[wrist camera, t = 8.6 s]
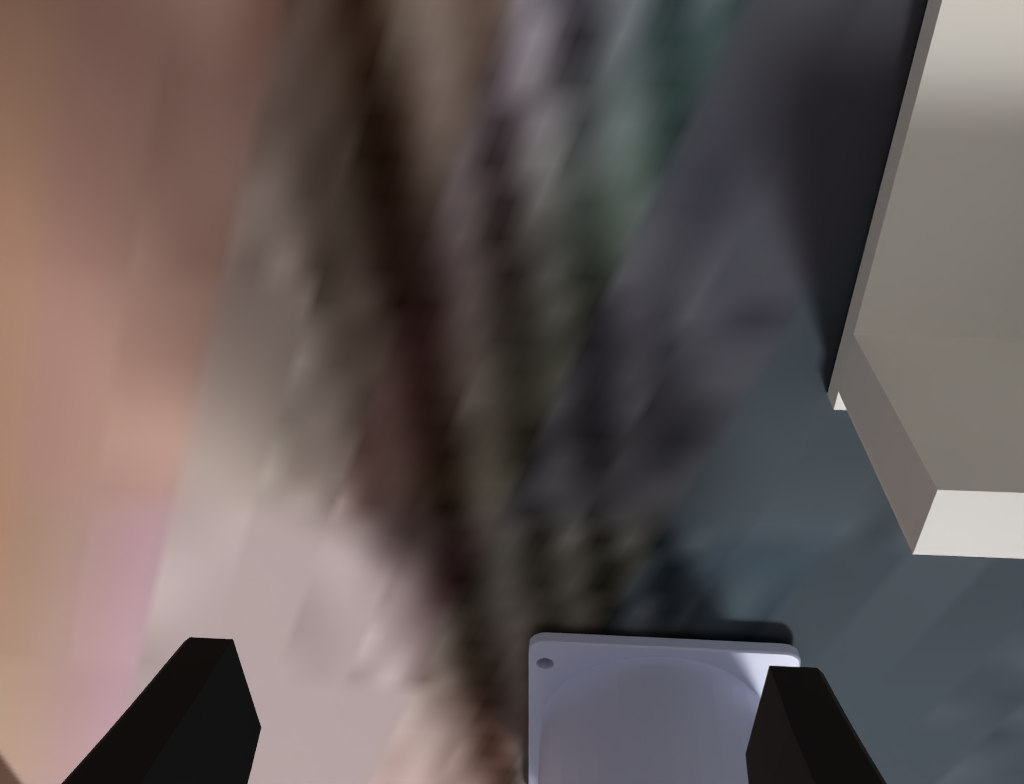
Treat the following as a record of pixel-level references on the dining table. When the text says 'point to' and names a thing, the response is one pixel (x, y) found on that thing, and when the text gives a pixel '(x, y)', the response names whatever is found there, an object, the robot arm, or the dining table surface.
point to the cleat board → (947, 292)
